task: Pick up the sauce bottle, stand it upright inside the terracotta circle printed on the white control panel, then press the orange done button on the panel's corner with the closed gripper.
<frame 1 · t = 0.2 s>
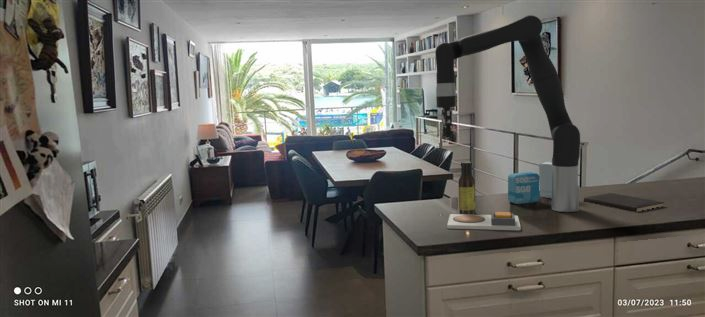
hand: (447, 136, 203), 29 cm above the counter, fingers open, 8 cm apart
hardcover book: (622, 206, 203), on the counter
data package: (523, 202, 213), on the counter
done button: (502, 216, 176), point 3 cm above the counter, slide at 0.0 cm
skincare box: (551, 197, 220), on the counter
white control panel: (483, 223, 181), on the counter
sauce bottle: (467, 214, 196), on the counter
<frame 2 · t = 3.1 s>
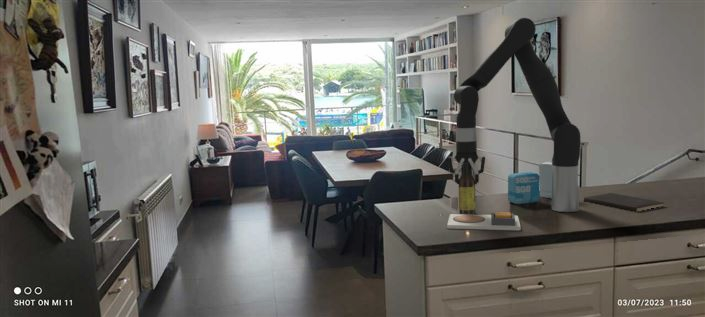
hand: (466, 183, 195), 12 cm above the counter, fingers closed on sauce bottle, 6 cm apart
sauce bottle: (467, 214, 196), on the counter, touching gripper
everything else where it was.
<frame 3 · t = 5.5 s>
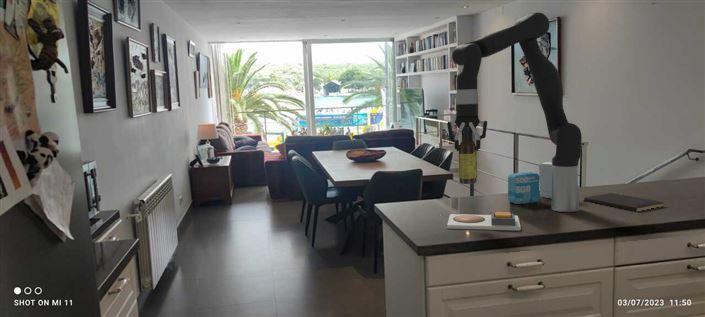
hand: (467, 150, 181), 26 cm above the counter, fingers closed on sauce bottle, 6 cm apart
sauce bottle: (467, 183, 182), point 14 cm above the counter, touching gripper
everything else where it was.
when the fingers open (14 cm above the counter, at t = 8.3 s): sauce bottle stays where it is, resting on white control panel.
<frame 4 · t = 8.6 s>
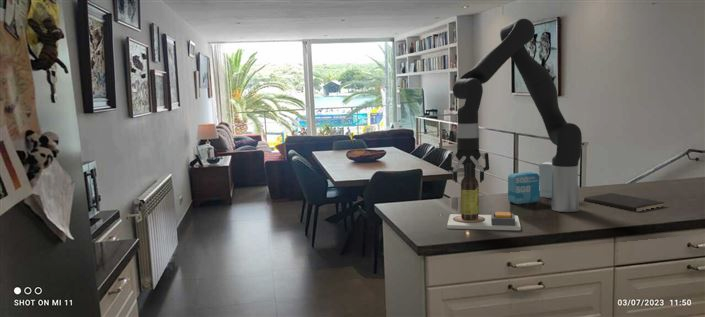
hand: (468, 182, 182), 15 cm above the counter, fingers open, 8 cm apart
sauce bottle: (469, 219, 183), point 1 cm above the counter, touching white control panel
everything else where it was.
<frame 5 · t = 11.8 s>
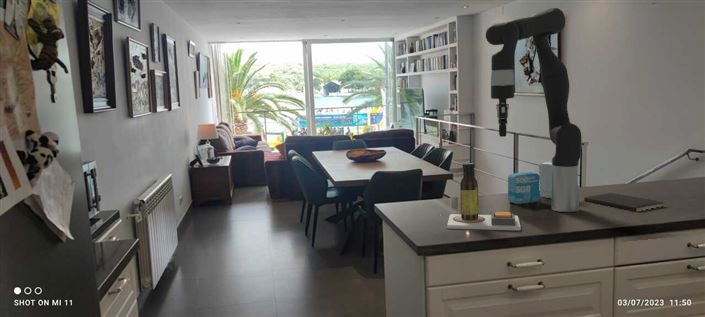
hand: (502, 135, 173), 31 cm above the counter, fingers open, 3 cm apart
nothing on the counter moved.
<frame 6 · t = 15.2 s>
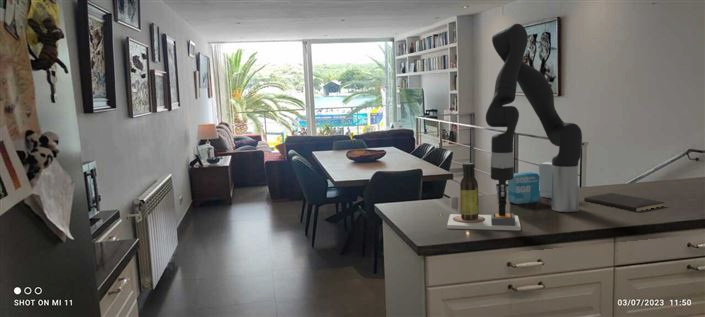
hand: (502, 215, 176), 4 cm above the counter, fingers closed
done button: (502, 218, 176), point 3 cm above the counter, slide at 0.6 cm, touching gripper
everything else where it was.
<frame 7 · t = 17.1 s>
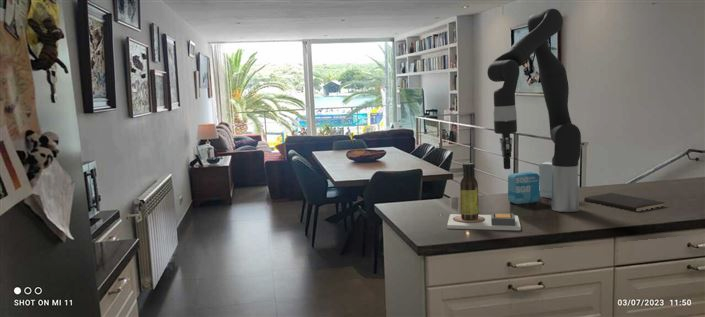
hand: (507, 168, 179), 19 cm above the counter, fingers closed
done button: (502, 218, 176), point 3 cm above the counter, slide at 0.7 cm
everything else where it was.
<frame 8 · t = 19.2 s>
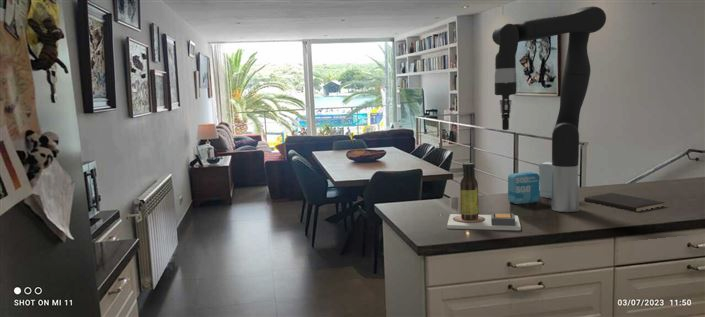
hand: (505, 129, 187), 32 cm above the counter, fingers closed
nothing on the counter moved.
at the end: sauce bottle 0.2 cm from the target spot on the white control panel, point 1.1 cm above the white control panel's base; sauce bottle tilted 0°; done button slide at 0.7 cm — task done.
